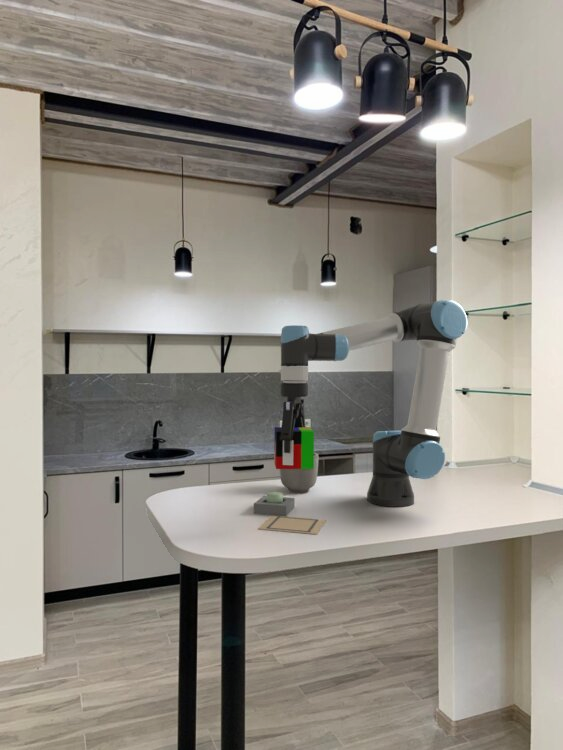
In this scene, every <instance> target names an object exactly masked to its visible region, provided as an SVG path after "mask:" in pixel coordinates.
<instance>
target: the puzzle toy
mask: <svg viewBox="0 0 563 750" xmlns="http://www.w3.org/2000/svg"><path fill="white" fill-rule="evenodd" d="M281 428H282V426H280V427H279V426H274V437H273V439H274V440H273V441H274V444H273V445H274V449H273V452H274V455H273V457H274V459H273V460H274V462H273V464H274V467H275V469H276V470H280V469H314V453H315V447H314V445H315V431H314V430H313V429H312V428H311V426H310V427H308V426H305V427H294V432H293V439H292V440H293V465H283V440H280V436H281Z"/></svg>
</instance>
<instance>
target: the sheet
mask: <svg viewBox="0 0 563 750" xmlns="http://www.w3.org/2000/svg"><path fill="white" fill-rule="evenodd" d="M326 522H327V519H320V518H319V519H318V518H306V517H294V516H278V515H270V517H269V518H268V519H266V520H265V521H264V522H263V523H262V524H261V525H260V526H259V527H258V528H257V529H258V530H260V529H262V530H261V531H271V530H274V531H273V532H283V533H292V534H293V533H295V534H305V535H319V532H320V531H321V529H322V527H323V526H324V524H326Z"/></svg>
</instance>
